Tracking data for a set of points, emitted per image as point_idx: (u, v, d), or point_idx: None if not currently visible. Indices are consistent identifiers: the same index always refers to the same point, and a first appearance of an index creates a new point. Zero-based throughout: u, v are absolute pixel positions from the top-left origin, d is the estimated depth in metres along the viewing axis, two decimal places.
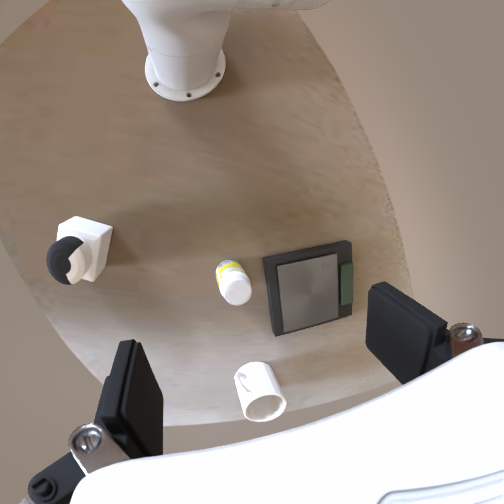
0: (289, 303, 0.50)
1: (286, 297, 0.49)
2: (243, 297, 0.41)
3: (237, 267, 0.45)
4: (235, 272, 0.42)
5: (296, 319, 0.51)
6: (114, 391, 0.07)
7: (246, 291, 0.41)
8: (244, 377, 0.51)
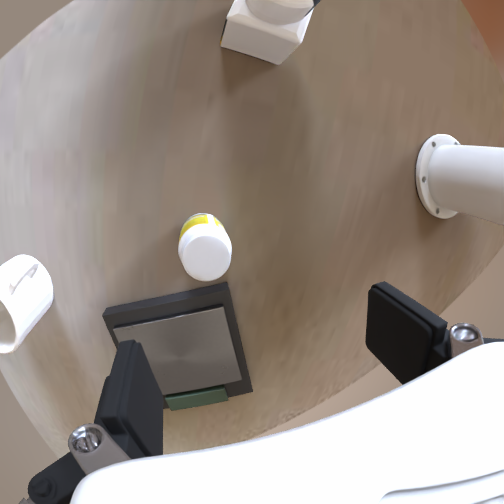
0: (163, 331, 0.30)
1: (173, 326, 0.30)
2: (198, 268, 0.23)
3: None
4: (230, 249, 0.26)
5: None
6: (114, 391, 0.07)
7: (208, 272, 0.24)
8: (30, 274, 0.24)
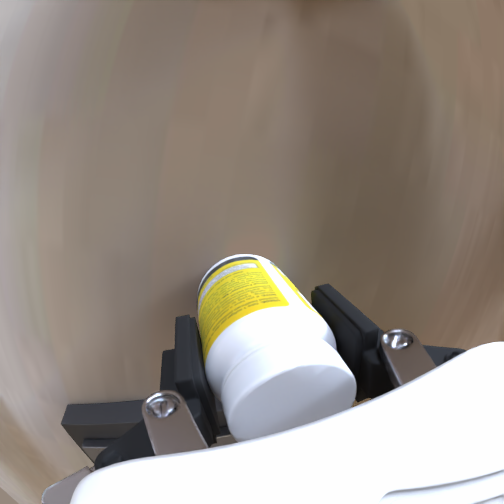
0: None
1: None
2: (271, 434, 0.07)
3: None
4: None
5: None
6: (183, 358, 0.08)
7: None
8: None
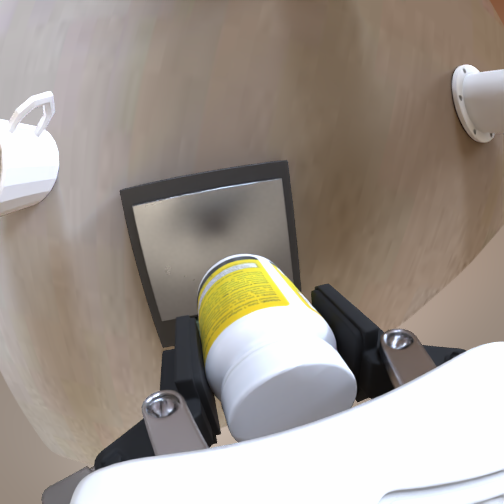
0: (201, 208, 0.24)
1: (216, 201, 0.24)
2: (271, 434, 0.07)
3: None
4: None
5: (160, 230, 0.24)
6: (183, 358, 0.08)
7: None
8: (38, 129, 0.18)
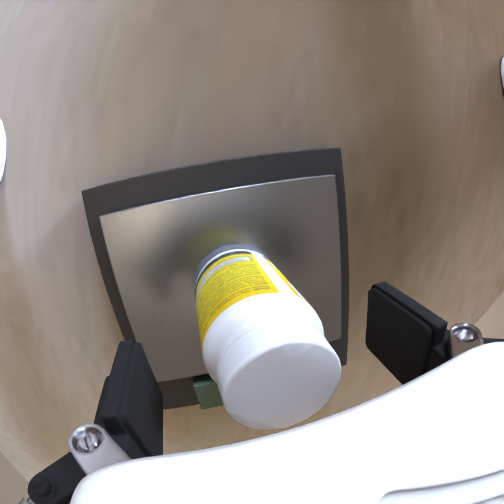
0: (210, 219, 0.15)
1: (234, 208, 0.15)
2: (262, 411, 0.08)
3: None
4: None
5: (145, 254, 0.15)
6: (114, 391, 0.07)
7: (286, 415, 0.09)
8: None
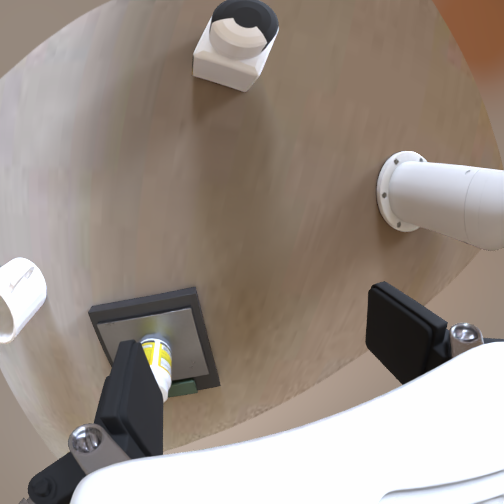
0: (139, 327, 0.34)
1: (148, 323, 0.34)
2: None
3: None
4: (170, 382, 0.30)
5: (116, 338, 0.34)
6: (114, 391, 0.07)
7: None
8: (26, 275, 0.28)
